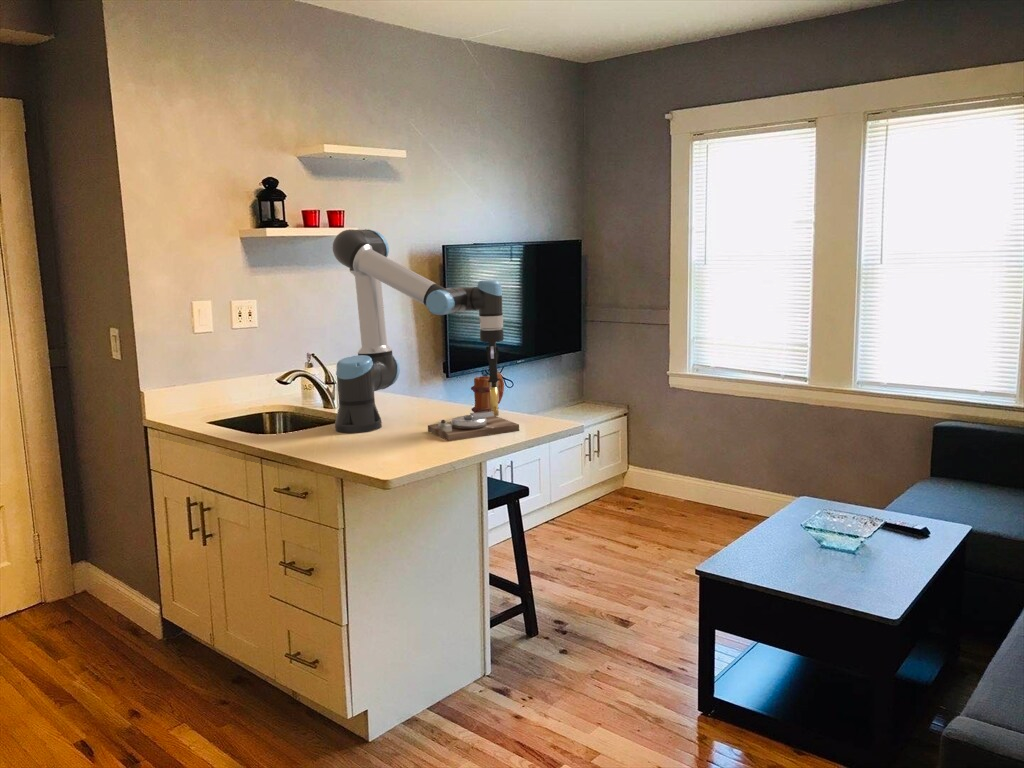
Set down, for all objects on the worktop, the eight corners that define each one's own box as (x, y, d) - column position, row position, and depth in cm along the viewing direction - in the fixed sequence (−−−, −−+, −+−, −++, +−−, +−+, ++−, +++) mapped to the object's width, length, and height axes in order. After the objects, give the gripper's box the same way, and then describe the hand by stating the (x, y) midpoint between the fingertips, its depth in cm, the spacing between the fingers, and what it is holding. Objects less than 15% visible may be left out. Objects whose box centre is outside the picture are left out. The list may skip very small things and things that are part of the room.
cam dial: (460, 430, 252) (458, 395, 251) (446, 424, 262) (444, 390, 260) (506, 423, 260) (504, 389, 258) (490, 418, 269) (489, 384, 267)
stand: (428, 431, 264) (427, 416, 264) (495, 421, 275) (494, 406, 274) (449, 441, 249) (448, 425, 248) (519, 430, 260) (519, 415, 259)
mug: (485, 422, 275) (483, 377, 273) (467, 420, 280) (465, 376, 277) (512, 414, 286) (510, 371, 284) (494, 412, 291) (492, 370, 289)
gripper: (480, 327, 271) (483, 398, 275) (479, 331, 258) (482, 405, 262) (503, 326, 271) (506, 397, 275) (503, 330, 258) (506, 404, 262)
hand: (494, 401), depth 268 cm, fingers closed
